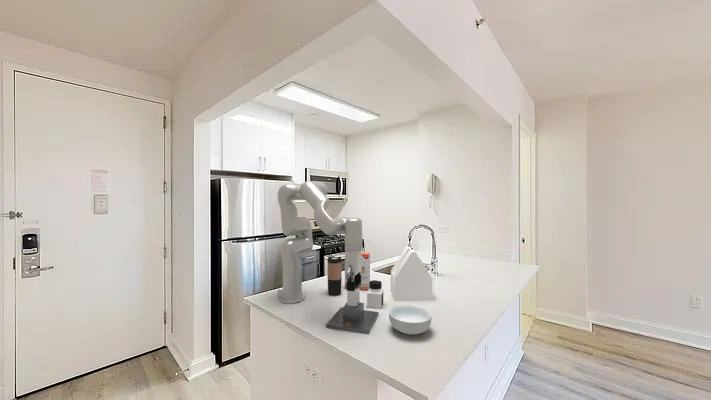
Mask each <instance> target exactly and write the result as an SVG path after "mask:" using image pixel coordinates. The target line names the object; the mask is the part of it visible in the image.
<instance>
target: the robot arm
mask: <svg viewBox="0 0 711 400" xmlns="http://www.w3.org/2000/svg"><path fill="white" fill-rule="evenodd" d="M328 190H329V189H328V187H327V185H326V184H325V183H324V182H323V181H315V180H308V181H307V180H306V181H304V182H302V183H285V184H282V185H281V186H280V187H279V188H278V190H277V203H278V206H279V209H280V221H281V231H282V233H283V235H285V237H286V236H287V237H291V236H293V238H288V239H285V240H283V241H282V243H281V244H280V254H281V259H282V289H277V292H276V295H280V297H279V300H280V302H281V303H282V304H297V303H300V302H302V301H304V300H306V299H305V298H306V297H305V294H303V290H302V288H303V283H302V280H303V278H302V277H303V276H302V274H303V273H302V271H303V270H302V268H303V266H302V262H301V260H300V258H299V256H304V255H308V254H310V253H311V252H312V251H313V247H314V243H313V242H314V241H313V232H312V231H313V230H312V224H311V221H310V220H309V218H307V217H305V216H299V215H298V208H297V206H296V204H295V203H294V202H293V201H306V202H307V203H308V204H309V205H310V206H311V208H312V209H313V210H314V212H313V215H314V216H313V217H314V220H315V221H314V222H315V224H316V225H317V226H318V227H319V229H320V230H321V232H323V233H324V234H325V235H327V236H331V237H332V236H337V235H338V236H339V235H344V251H345V253H346V254H345V253H344V276H345V275H346V276H347V277H346V278H347V289H346V292H347V291H355V282H361V268H362V262H361V252H363V221H362V219H361V218H359V217H347V216H346V217H345V216H338V217H330V216H329V214H327V212H326V210H327V209H328V207H329V206H330V203H331V201H330V198H329V197H328ZM294 236H298V237H294ZM350 273H353V274H350ZM351 276H352V277H351Z"/></svg>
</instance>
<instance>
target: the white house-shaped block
mask: <svg viewBox="0 0 711 400" xmlns="http://www.w3.org/2000/svg"><path fill="white" fill-rule="evenodd" d="M390 292H391V294H392V297H393V299H394V301H396V302H397V301H405V302H406V301H410V302H411V301H433V277H432V275H431V274H430V272H429V271H428V268H427V267H426V266H425V264H424V263H423V261H422V259H421V258H420V257H419V255H418V254H417V252H416V251H415V250H414V249H412V248H411V247H410V246H405V247H404V249H403V250H402V252H401V253H400V255H399V257H398V259H397V260H396V262H395V263H394V265H393V266H392V268H391V270H390Z"/></svg>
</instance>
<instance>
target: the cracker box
mask: <svg viewBox="0 0 711 400" xmlns="http://www.w3.org/2000/svg"><path fill="white" fill-rule="evenodd" d="M345 254H346V252H345V253H344V255H345ZM361 262H362V268H361V286H360V291H368V290H369V282H370V281H371V252H365V251H361ZM350 274H353V273H350ZM346 277H347V276H346V275H345V274H344V290H347V288H346V284H347V278H346ZM351 277H352V276H351Z"/></svg>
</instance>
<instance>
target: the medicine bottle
mask: <svg viewBox="0 0 711 400" xmlns="http://www.w3.org/2000/svg"><path fill="white" fill-rule="evenodd" d="M382 284H383V283H382V281H381V280H379V279H372V280H370V282H369V290H367V294H366V302H367V303H366V304H367V305H366V307H367V308H369V309H370V308H372V309H383V305H384V288H382V287H383V286H382Z"/></svg>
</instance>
